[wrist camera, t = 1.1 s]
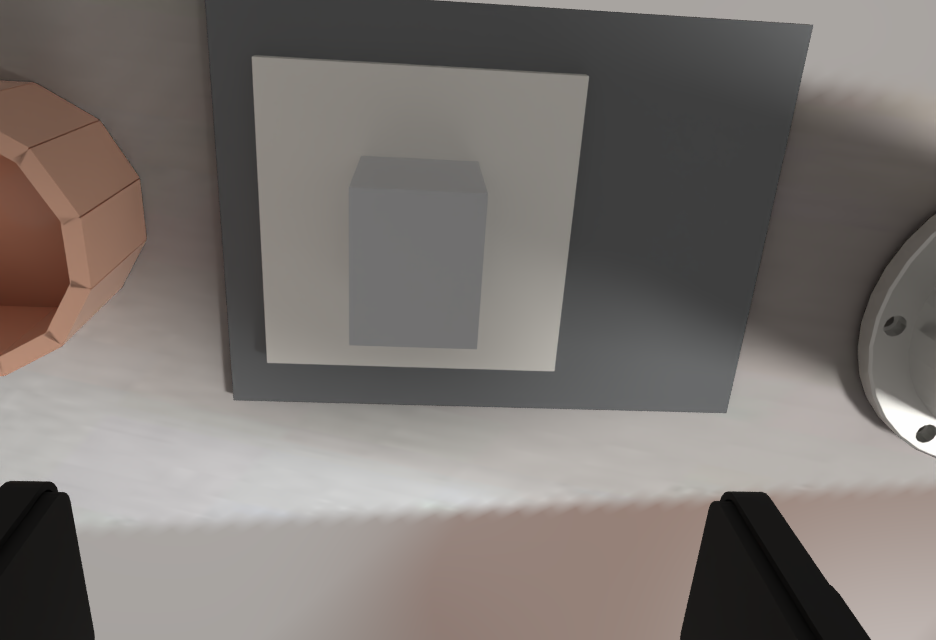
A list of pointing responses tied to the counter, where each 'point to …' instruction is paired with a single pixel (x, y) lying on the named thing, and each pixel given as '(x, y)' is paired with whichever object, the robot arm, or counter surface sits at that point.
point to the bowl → (59, 221)
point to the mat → (596, 198)
